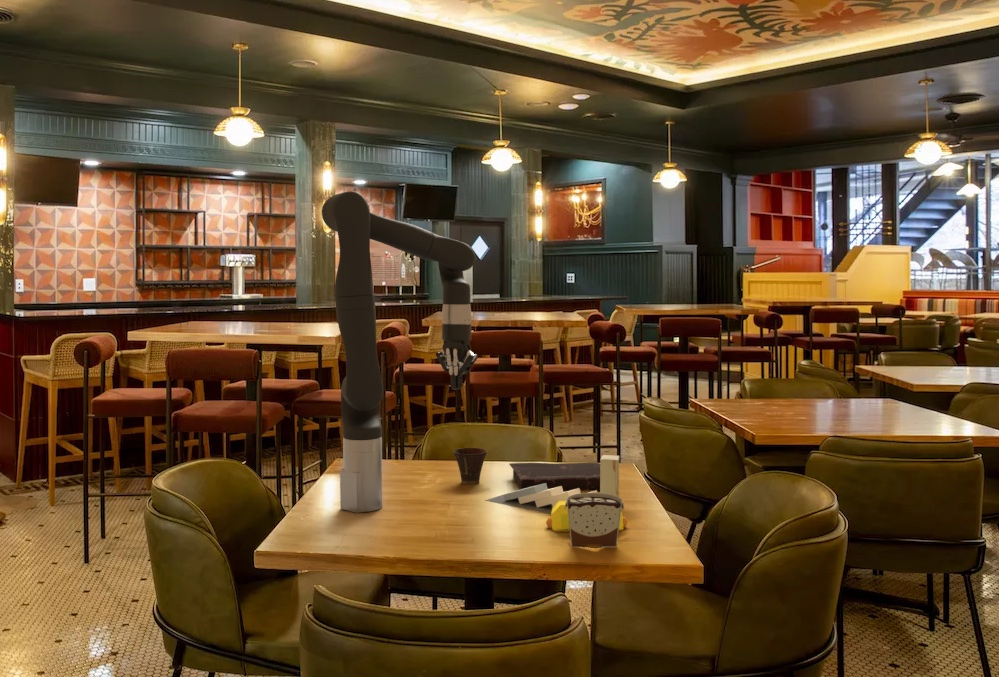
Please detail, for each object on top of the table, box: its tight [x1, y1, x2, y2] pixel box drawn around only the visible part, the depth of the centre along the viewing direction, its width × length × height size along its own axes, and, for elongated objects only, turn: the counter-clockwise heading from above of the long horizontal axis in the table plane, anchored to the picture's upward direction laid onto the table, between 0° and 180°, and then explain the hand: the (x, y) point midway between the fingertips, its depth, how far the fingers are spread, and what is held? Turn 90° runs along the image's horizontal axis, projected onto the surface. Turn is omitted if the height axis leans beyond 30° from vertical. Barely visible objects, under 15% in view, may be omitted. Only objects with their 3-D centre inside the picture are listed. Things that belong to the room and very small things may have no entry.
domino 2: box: [518, 486, 564, 504], centre depth 204 cm, size 5×2×10 cm
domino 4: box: [552, 490, 598, 507], centre depth 198 cm, size 5×2×10 cm
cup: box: [453, 447, 488, 486], centre depth 227 cm, size 9×9×10 cm
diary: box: [508, 461, 600, 493], centre depth 227 cm, size 19×25×5 cm
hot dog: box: [545, 501, 628, 532], centre depth 186 cm, size 18×7×8 cm
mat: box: [485, 494, 553, 515], centre depth 205 cm, size 10×25×1 cm, turn 51°
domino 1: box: [502, 483, 548, 501], centre depth 207 cm, size 5×2×10 cm
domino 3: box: [535, 488, 582, 508], centre depth 201 cm, size 5×2×10 cm
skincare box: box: [599, 454, 620, 498], centre depth 204 cm, size 6×4×12 cm
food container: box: [564, 492, 625, 549], centre depth 176 cm, size 12×6×10 cm, turn 92°
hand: (456, 389), depth 217 cm, fingers closed
